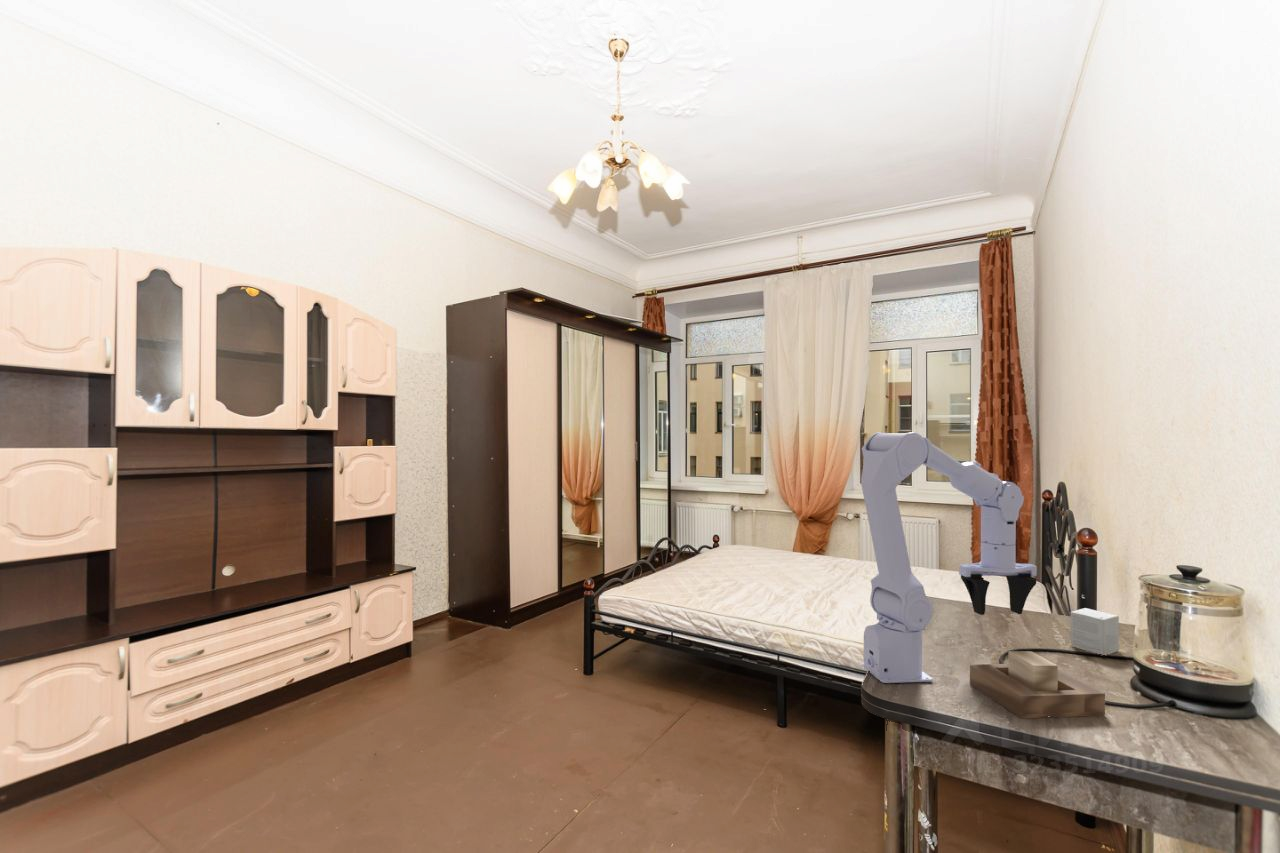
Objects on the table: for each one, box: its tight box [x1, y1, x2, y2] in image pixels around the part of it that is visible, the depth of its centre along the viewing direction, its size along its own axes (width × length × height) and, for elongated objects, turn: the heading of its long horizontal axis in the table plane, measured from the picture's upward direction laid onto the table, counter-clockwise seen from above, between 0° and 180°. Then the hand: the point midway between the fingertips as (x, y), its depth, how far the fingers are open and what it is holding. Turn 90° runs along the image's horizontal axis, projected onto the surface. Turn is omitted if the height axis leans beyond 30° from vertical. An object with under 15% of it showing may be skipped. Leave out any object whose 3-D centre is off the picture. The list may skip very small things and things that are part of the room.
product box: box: [1069, 607, 1120, 656], centre depth 117 cm, size 6×6×7 cm
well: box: [969, 663, 1106, 719], centre depth 95 cm, size 14×12×3 cm
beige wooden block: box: [1008, 650, 1059, 691], centre depth 95 cm, size 4×6×6 cm, turn 1°
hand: (997, 612), depth 110 cm, fingers open, 7 cm apart
